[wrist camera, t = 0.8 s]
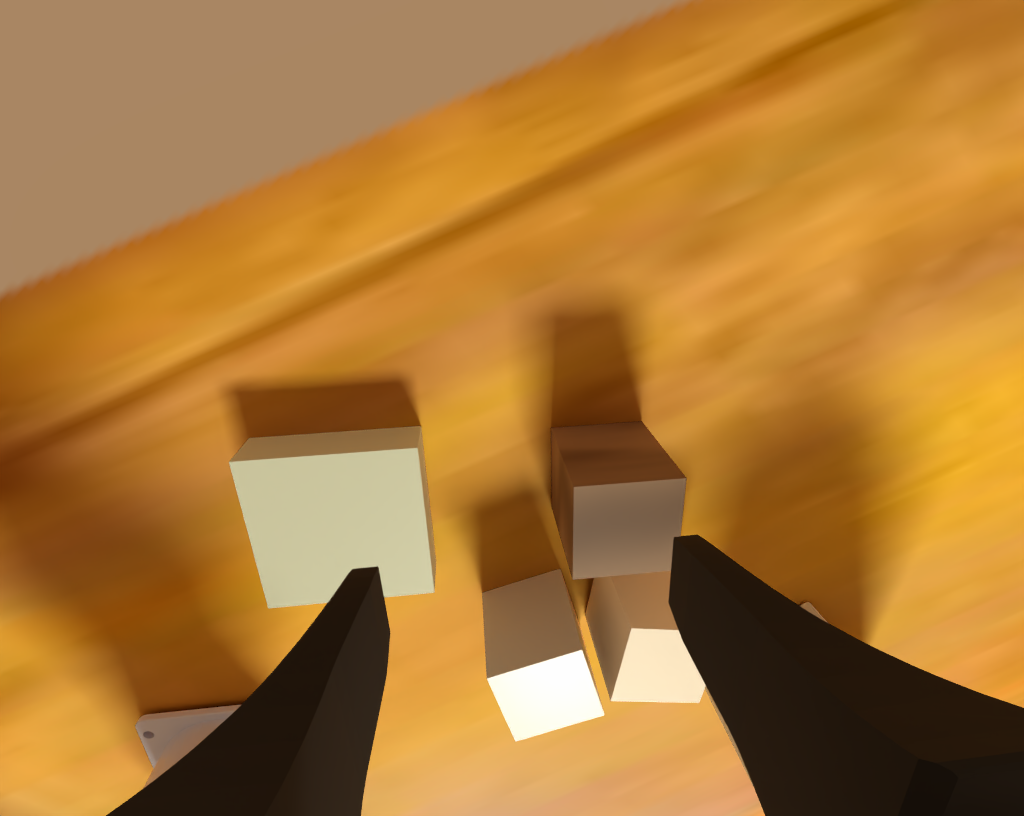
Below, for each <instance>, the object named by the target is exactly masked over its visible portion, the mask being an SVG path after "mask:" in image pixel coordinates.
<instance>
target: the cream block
mask: <svg viewBox="0 0 1024 816" xmlns="http://www.w3.org/2000/svg"><path fill="white" fill-rule="evenodd" d="M670 576H671V571H663V572H652V573H641V574H630V575H619V576H608V577H597V578H594V580H593V584H592V588H591V592H590V597H589V601H588V605H587V609H586V613H585V616H586V620H587V623H588V627H589V630H590V633H591V637H592V640H593V643H594V647H595V650H596V653H597V657H598V660H599V663H600V667H601V670H602V674H603V677H604V680H605V684H606V687H607V690H608V694H609V697H610V700H611V701H630V702H683V703H699V702H700V699H701V697H702V694H703V691H704V689H705V686H706V685H705V683H704V681H703V679H702V677H701V676H700V674H699V672H698V670H697V668H696V666H695V664H694V662H693V660H692V658H691V656H690V654H689V652H688V650H687V649H686V647H685V645H684V643H683V640H682V638H681V635H680V633H679V630H678V628H677V625H676V622H675V620H674V617H673V614H672V611H671V608H670V606H669V603H668V600H669V588H670Z"/></svg>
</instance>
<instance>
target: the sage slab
mask: <svg viewBox="0 0 1024 816" xmlns="http://www.w3.org/2000/svg"><path fill="white" fill-rule="evenodd" d="M229 464H230V468H231V472H232V475H233V479H234V483H235V486H236V490H237V494H238V498H239V501H240V505H241V509H242V512H243V516H244V520H245V524H246V527H247V531H248V535H249V538H250V542H251V546H252V550H253V553H254V557H255V561H256V564H257V568H258V572H259V576H260V579H261V583H262V587H263V590H264V594H265V598H266V602H267V605H268V608H278V607H288V606H299V605H309V604H320V603H328V602H329V600H330V599H331V598H332V596H333V595H334V593H335V592H336V590H337V589H338V588H339V586H340V585H341V583H342V582H343V580H344V579H345V577H346V576H347V575H348V573H349V572H350V571H351V570H352V569H356V568H366V567H376V566H378V567H379V573H380V578H381V584H382V589H383V595H384V597H393V596H404V595H414V594H425V593H434V592H435V574H436V555H435V546H434V537H433V528H432V519H431V510H430V501H429V492H428V483H427V474H426V466H425V457H424V448H423V439H422V430H421V426H411V427H397V428H383V429H369V430H355V431H341V432H327V433H313V434H299V435H285V436H270V437H256V438H249V439H248V440H247V441H246V442H245V444H244V445H243V446H242V447H241V448H240V449H239V451H238V452H237V453H236V454H235V455H234V457H233V458H232V459H231V460H230V461H229Z"/></svg>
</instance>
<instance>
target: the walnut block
mask: <svg viewBox="0 0 1024 816" xmlns="http://www.w3.org/2000/svg"><path fill="white" fill-rule="evenodd" d="M685 487H686V477H685V476H684V474H683V473H682V472H681V471H680V469H679V468H678V467H677V466H676V464H675V463H674V462H673V460H672V459H671V458H670V457H669V455H668V454H667V453H666V452H665V450H664V449H663V448H662V446H661V445H660V444H659V443H658V441H657V440H656V439H655V438H654V436H653V435H652V434H651V432H650V431H649V430H648V429H647V427H646V426H645V425H644V424H643V422H642V421H638V422H624V423H610V424H596V425H581V426H567V427H553V428H551V498H552V510H553V513H554V517H555V520H556V524H557V527H558V531H559V534H560V538H561V541H562V544H563V548H564V551H565V555H566V558H567V562H568V565H569V569H570V572H571V575H572V579H573V580H575V579H586V578H597V577H608V576H619V575H630V574H641V573H652V572H663V571H671V564H672V551H673V539H674V537H679V536H680V535H681V526H682V516H683V507H684V497H685Z"/></svg>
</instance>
